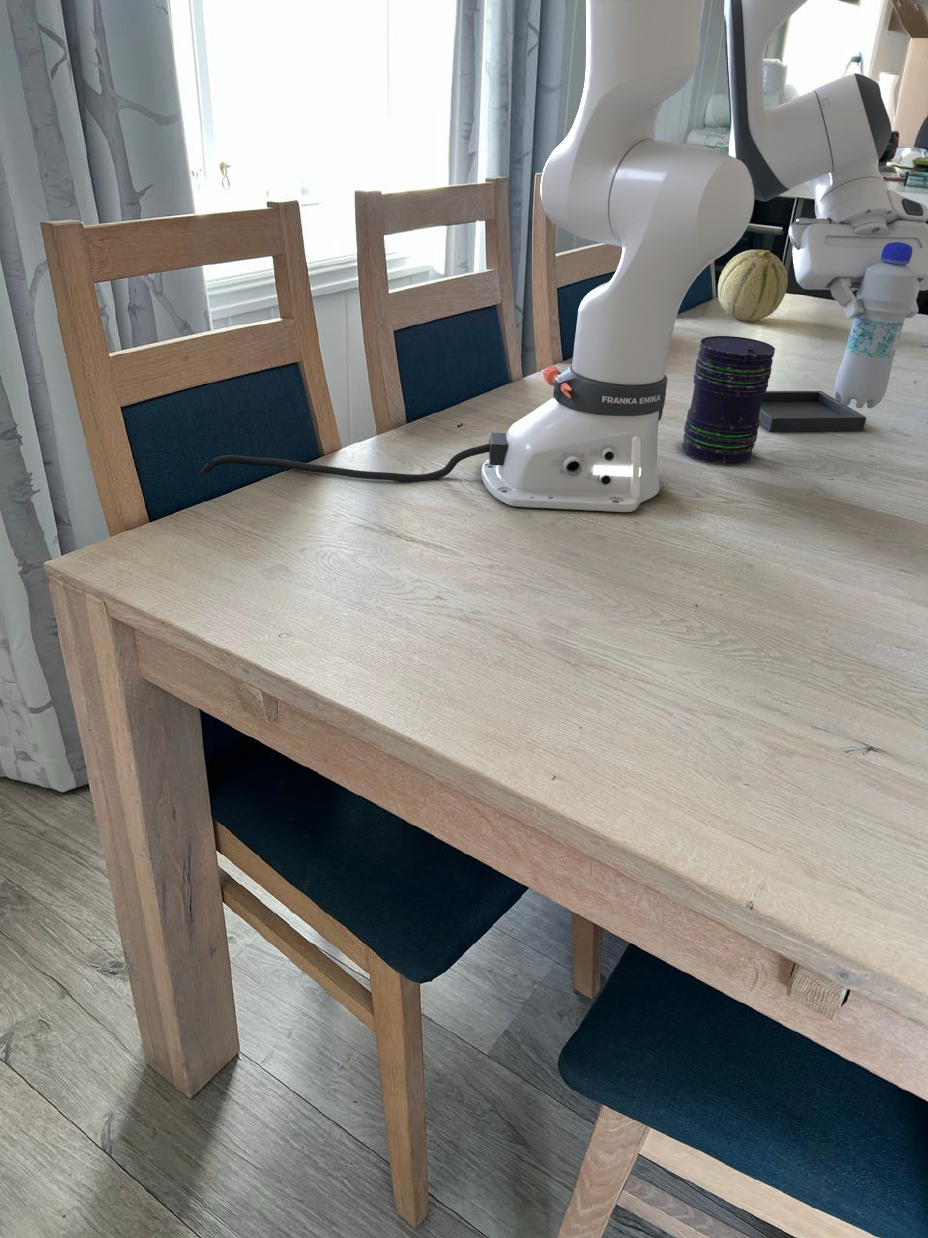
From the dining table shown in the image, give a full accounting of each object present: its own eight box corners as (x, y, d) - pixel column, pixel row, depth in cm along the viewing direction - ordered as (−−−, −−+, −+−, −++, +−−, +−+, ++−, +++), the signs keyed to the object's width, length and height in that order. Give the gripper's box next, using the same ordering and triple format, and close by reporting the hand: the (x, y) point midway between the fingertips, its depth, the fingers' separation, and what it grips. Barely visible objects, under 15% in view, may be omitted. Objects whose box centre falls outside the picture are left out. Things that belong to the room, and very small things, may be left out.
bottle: (887, 413, 121) (935, 248, 111) (833, 407, 122) (875, 243, 112) (878, 399, 126) (922, 240, 116) (826, 393, 127) (866, 235, 117)
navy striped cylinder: (667, 443, 134) (685, 336, 126) (725, 438, 137) (746, 334, 130) (706, 468, 126) (728, 356, 118) (767, 462, 129) (791, 353, 122)
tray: (769, 431, 141) (772, 418, 140) (730, 403, 152) (733, 390, 151) (863, 430, 144) (866, 417, 143) (818, 403, 155) (821, 390, 154)
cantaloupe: (738, 309, 217) (751, 240, 209) (792, 323, 207) (809, 251, 200) (697, 316, 209) (710, 244, 201) (753, 330, 199) (768, 255, 192)
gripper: (800, 201, 115) (827, 300, 112) (938, 206, 121) (967, 301, 117) (772, 234, 121) (797, 329, 118) (905, 237, 126) (932, 329, 123)
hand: (883, 315), depth 118 cm, fingers closed on bottle, 6 cm apart
